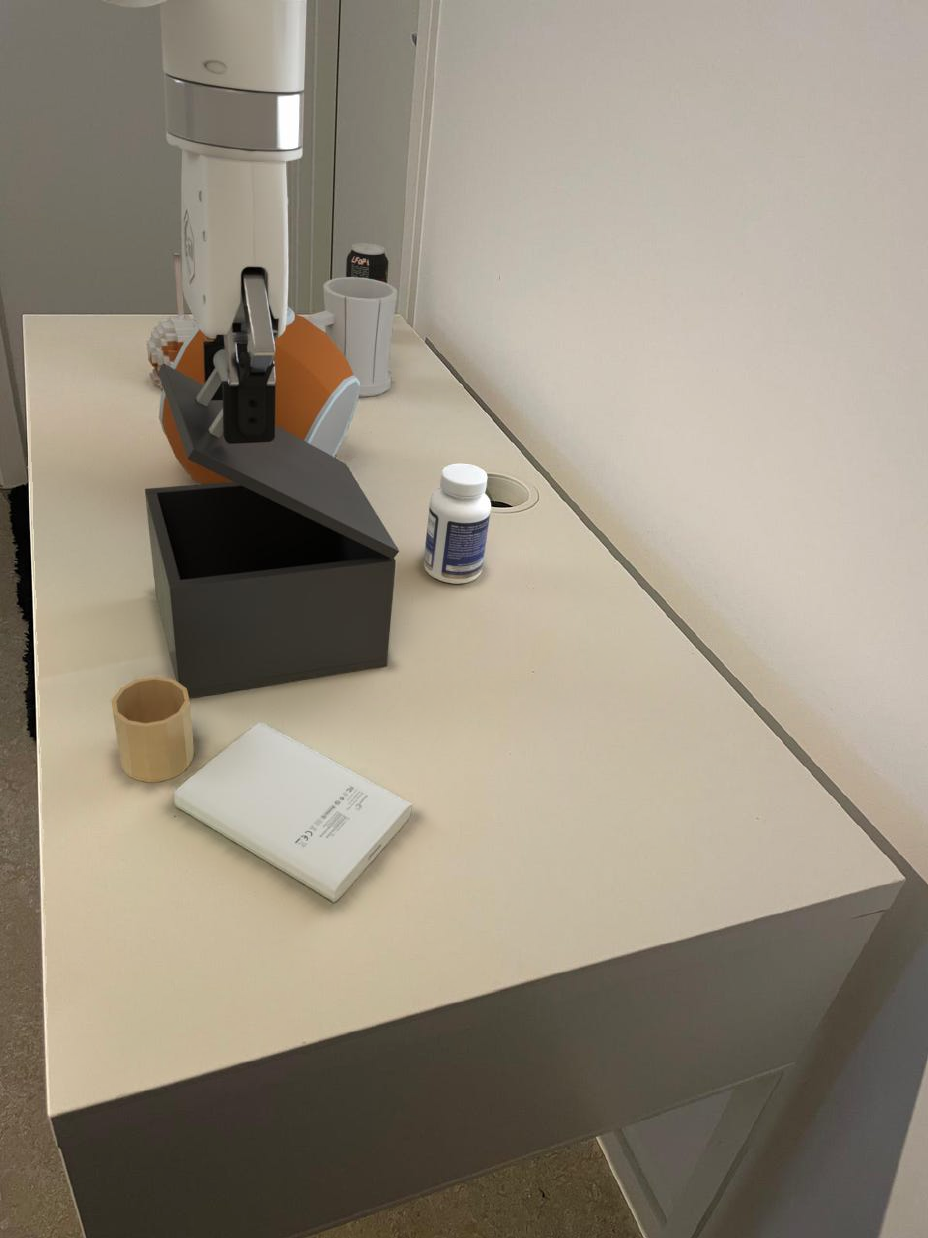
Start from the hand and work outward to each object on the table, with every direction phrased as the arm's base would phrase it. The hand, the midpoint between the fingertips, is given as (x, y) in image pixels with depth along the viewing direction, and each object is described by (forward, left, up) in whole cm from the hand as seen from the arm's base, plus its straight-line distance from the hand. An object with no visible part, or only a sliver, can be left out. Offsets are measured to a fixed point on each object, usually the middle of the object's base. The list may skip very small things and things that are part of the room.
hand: (238, 416), depth 61 cm
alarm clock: (+7, +25, -19) cm, 32 cm away
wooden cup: (-8, -12, -18) cm, 23 cm away
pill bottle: (+20, +5, -19) cm, 28 cm away
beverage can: (+30, +65, -19) cm, 74 cm away
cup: (+23, +47, -19) cm, 55 cm away
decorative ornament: (+3, +50, -19) cm, 53 cm away
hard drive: (-1, -19, -19) cm, 27 cm away
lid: (+3, 0, -4) cm, 5 cm away
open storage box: (+2, 0, -18) cm, 18 cm away
